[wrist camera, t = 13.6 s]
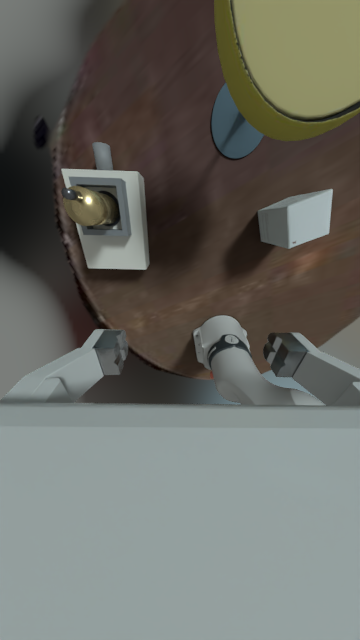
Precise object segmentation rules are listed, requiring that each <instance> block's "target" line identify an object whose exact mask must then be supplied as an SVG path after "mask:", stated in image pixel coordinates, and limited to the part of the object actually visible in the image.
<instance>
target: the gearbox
mask: <svg viewBox="0 0 360 640" xmlns="http://www.w3.org/2000/svg"><path fill="white" fill-rule="evenodd" d="M92 145H93V150H94V156H95V161H96V167H97V170H82V169H61V170H62V173H63V177H64V181H65V185H66V188H69V187H71V186H80V187H83V188H87V189H90V190H93V191H96V192H99V193H102V194H106V195H108V196H110V197H111V198H113V199H114V201H115V202H116V204H117V206H118V210H119V215H118V218H117V220H116V221H115V222H114V223H112V224H104V225H93V226H82V225H79V224H77V223H76V225H77V229H78V233H79V237H80V240H81V244H82V248H83V251H84V255H85V259H86V262H87V266H88V268H98V269H139V270H146V269H147V267H148V266H149V264H150V261H149V247H148V233H147V218H146V204H145V190H144V178H143V177H142V176H141V175H140V173H139V172H136V171H113V166H112V159H111V152H110V146H109V145H107V144H104V143H99V142H95V143H93V144H92Z"/></svg>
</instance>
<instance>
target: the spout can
mask: <svg viewBox="0 0 360 640" xmlns="http://www.w3.org/2000/svg"><path fill="white" fill-rule="evenodd" d="M62 195H63V197H64V198H63V202H64V207H65V210H66V212H67V213H68V215H69V216H70V218H71V219H72V220H73V221H75V222H76V223H77V224H79V225H82V226H93V225H104V224H112V223H114V222H115V221H116V220H117V218H118V215H119V210H118V206H117V204H116V202H115V201H114V199H113V198H111V197H110V196H108V195H106V194H102V193H99V192H96V191H93V190H90V189H87V188H83V187H80V186H71V187H69V188H63V189H62Z"/></svg>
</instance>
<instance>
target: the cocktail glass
mask: <svg viewBox="0 0 360 640" xmlns="http://www.w3.org/2000/svg"><path fill="white" fill-rule="evenodd" d="M214 9H215V28H216V37H217V46H218V53H219V57H220V62H221V66H222V71H223V75H224V78H225V81H226V83H225V85H224V86H223V87H222V89H221V90H220V92H219V94H218V96H217V99H216V101H215V104H214V108H213V113H212V122H211V124H212V135H213V139H214V142H215V144H216V146H217V148H218V149H219V151H220V152H221V153H222V154H223V155H225V156H226V157H229V158H233V159H238V158H242V157H244V156H246V155H248V154H249V153H251V152H252V151H253V150H254V149H255V148H256V146H257V145H258V144H259V142H260V141H261V139H262V137H263V135H266V136H268V137H270V138H273V139H278V140H283V141H295V140H303V139H307V138H311V137H315V136H318V135H320V134H322V133H325V132H327V131H329V130H331V129H333V128H335V127H337V126H339V125H341V124H342V123H344V122H346V121H347V120H349V119H350V118H352V117H353V116H355V115H356V114H358V113H360V0H214Z"/></svg>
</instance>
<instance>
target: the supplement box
mask: <svg viewBox="0 0 360 640" xmlns="http://www.w3.org/2000/svg"><path fill="white" fill-rule="evenodd" d="M332 192H333V189H329V190H324V191H319V192H314V193H309V194H304V195H299V196H293V197H289V198H287V199H284V200H282V201H280V202H277V203H275V204H273V205H270V206H268V207H266V208H263V209H261V210H259V211H258V220H259V228H260V237H261V241H262V242H265V243H269V244H273V245H277V246H280V247H284V248H288V249H290V248H292V247H295V246H297V245H300V244H302V243H305V242H308V241H310V240H313V239H316V238H318V237H321V236H324V235H326V234H329V226H330V215H331V203H332Z"/></svg>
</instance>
